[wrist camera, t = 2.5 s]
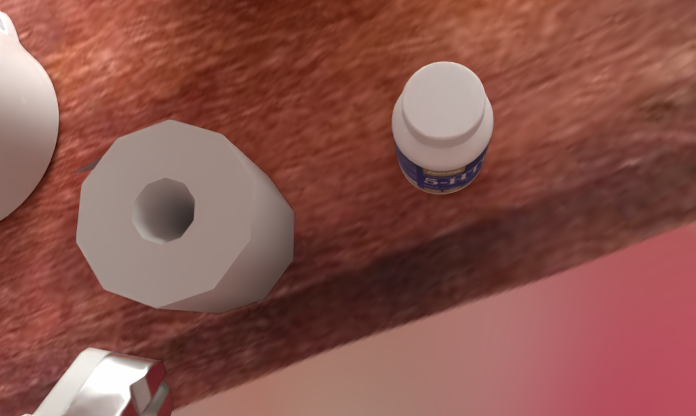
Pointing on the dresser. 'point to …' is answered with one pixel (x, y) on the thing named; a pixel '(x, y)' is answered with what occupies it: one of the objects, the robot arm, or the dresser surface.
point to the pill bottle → (442, 127)
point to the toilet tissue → (183, 221)
